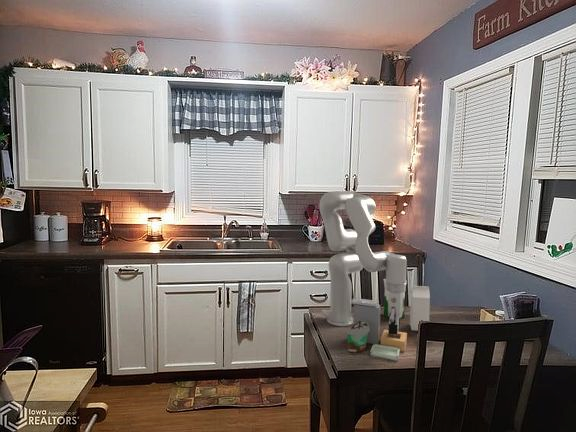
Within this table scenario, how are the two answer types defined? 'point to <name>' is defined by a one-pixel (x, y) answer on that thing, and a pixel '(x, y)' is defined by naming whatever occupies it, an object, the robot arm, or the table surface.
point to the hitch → (377, 327)
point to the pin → (397, 329)
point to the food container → (358, 337)
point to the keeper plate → (364, 302)
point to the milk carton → (419, 305)
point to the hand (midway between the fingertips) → (394, 329)
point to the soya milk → (387, 302)
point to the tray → (385, 352)
